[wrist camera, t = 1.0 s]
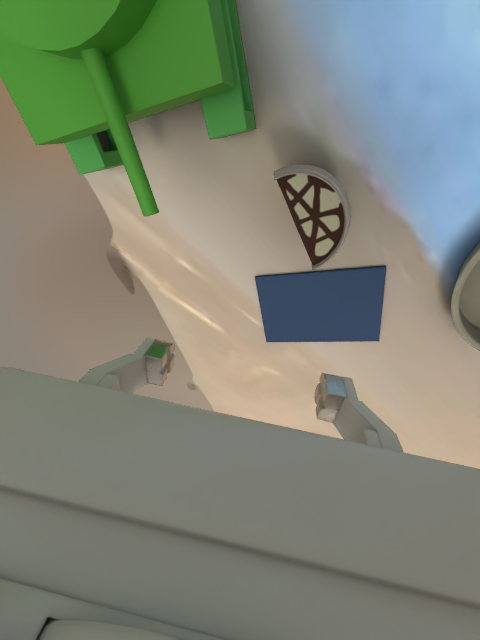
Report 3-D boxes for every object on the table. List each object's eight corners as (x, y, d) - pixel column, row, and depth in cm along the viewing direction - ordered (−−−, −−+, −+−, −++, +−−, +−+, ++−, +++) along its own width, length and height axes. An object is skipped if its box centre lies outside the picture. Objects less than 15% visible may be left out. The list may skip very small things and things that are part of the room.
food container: (356, 228, 39) (366, 255, 31) (314, 245, 42) (313, 274, 34) (327, 136, 34) (330, 140, 26) (281, 163, 36) (271, 174, 28)
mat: (385, 265, 41) (386, 267, 40) (378, 339, 48) (378, 341, 48) (255, 276, 47) (254, 277, 46) (267, 340, 54) (266, 342, 54)
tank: (120, 205, 45) (41, 238, 32) (-39, -171, 26) (-378, -452, 14) (265, 174, 38) (237, 200, 25) (184, -379, 19) (-96, -1434, 6)
